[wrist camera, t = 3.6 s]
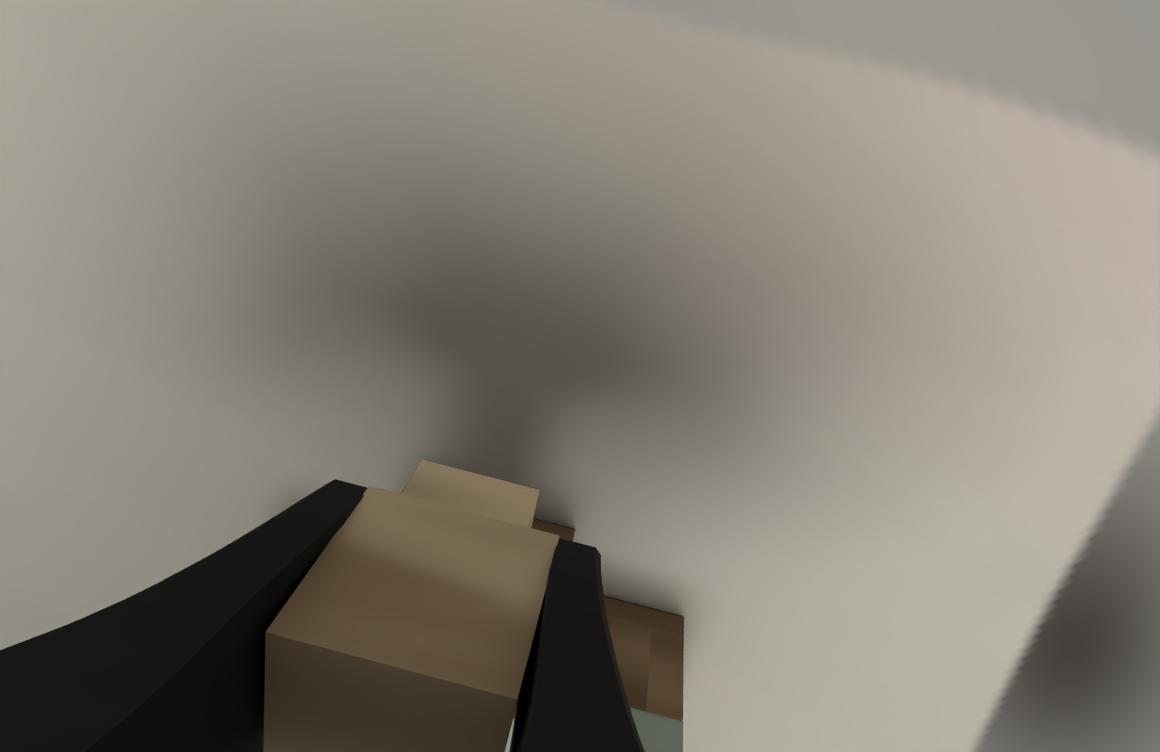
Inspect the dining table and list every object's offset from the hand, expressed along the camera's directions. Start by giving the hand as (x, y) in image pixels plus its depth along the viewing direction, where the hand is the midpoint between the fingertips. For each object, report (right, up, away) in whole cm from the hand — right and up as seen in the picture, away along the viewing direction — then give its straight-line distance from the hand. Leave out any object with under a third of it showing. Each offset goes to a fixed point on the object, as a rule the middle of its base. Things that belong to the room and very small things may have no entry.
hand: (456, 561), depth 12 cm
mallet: (0, -1, +2) cm, 2 cm away
